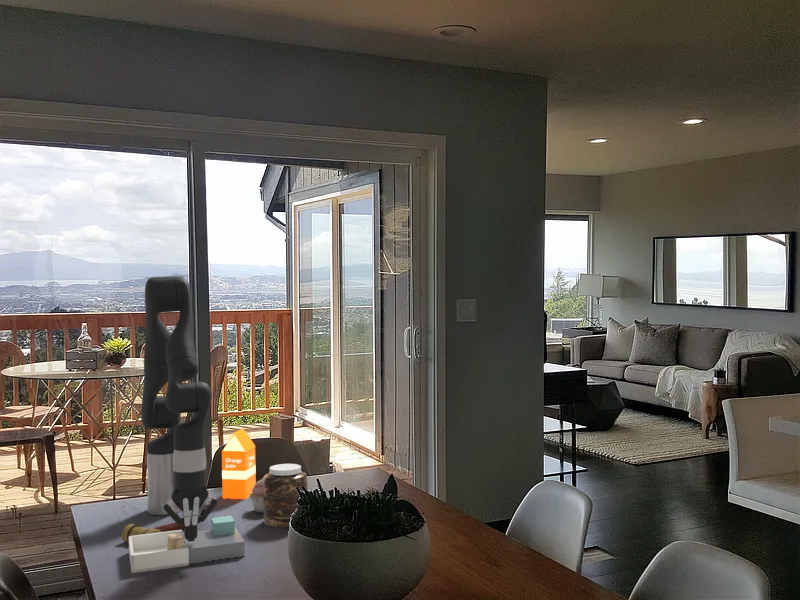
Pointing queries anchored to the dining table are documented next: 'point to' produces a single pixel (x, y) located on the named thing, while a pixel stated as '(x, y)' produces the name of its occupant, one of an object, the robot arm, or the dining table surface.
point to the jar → (282, 493)
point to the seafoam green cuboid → (223, 525)
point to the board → (214, 546)
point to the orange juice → (238, 466)
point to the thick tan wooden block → (174, 541)
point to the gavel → (148, 530)
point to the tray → (155, 552)
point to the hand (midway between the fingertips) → (190, 540)
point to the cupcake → (258, 496)
